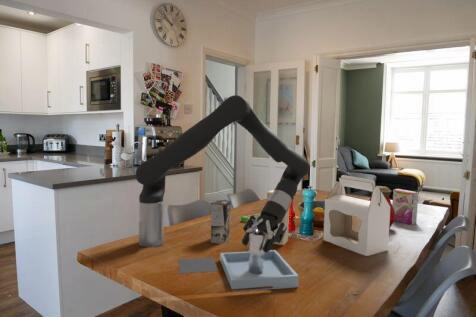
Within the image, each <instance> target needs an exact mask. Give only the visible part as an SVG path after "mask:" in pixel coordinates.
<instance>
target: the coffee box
mask: <svg viewBox="0 0 476 317" xmlns="http://www.w3.org/2000/svg"><path fill="white" fill-rule="evenodd" d="M231 203H232V202H231V200H218V199H217V200H215V201H214V202H213V203H211V209H210V211H211V212H210V244H220V245H221V244H224V245H225V244H227V243H228V241H229V239H230V238H231V207H232V206H231V205H232V204H231Z"/></svg>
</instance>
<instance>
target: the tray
mask: <svg viewBox="0 0 476 317" xmlns="http://www.w3.org/2000/svg"><path fill="white" fill-rule="evenodd" d="M219 261H220V264H221V266H222V268H223V271H224V274H225V276H226V278H227V281H228V284H229V285H230V288H231V293H243V291H244V292H253V291H254V290H257V291H268V289H269V290H277V289H278V290H280V289H292V288H299V277H300V276H299V275H298V273H297V272H296V271H295V270H294V269H293V268H292V267H291V265H290V264H289V263H288V262H287V261H286V260H285V259H284V258H283V257H282V256H281V254H280V253H279V252H278V251H277V249H270V250H269V251H268V252H267V253H265V256H264V272H263V273H261V274H253V273H250V272H249V271H248V267H249V250H248V251H233V252H220V253H219ZM254 288H255V289H254ZM241 289H242V290H241ZM254 292H255V291H254Z"/></svg>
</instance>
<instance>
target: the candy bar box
mask: <svg viewBox="0 0 476 317" xmlns="http://www.w3.org/2000/svg"><path fill="white" fill-rule="evenodd" d="M418 203H419V192H418V191H412V190H407V189H401V188H395V189H393V190H392V201H391V204H392V206H393V209H394V211H395V214H396V217H397V218H396V220H395V221H394V222H399V223H403V224H407V225H410V226H414V225H417V219H418V205H419V204H418Z"/></svg>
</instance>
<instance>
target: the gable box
mask: <svg viewBox="0 0 476 317" xmlns="http://www.w3.org/2000/svg"><path fill="white" fill-rule="evenodd" d="M338 180H339V181H335V185H334V186H333V188H332V189H331V191H330V192H329V193H328V195H327V197H326V198H325V199H324V217H323V219H324V220H323V241H325V242H327V243H331V244H332V245H336V246H339V248H340V247H341V248H343V249H346V250H349V251H352V252H354V253H356V254H359V255H362V256H365V257H368V256H372V255H376V254H380V253H383V252H388V250H389V236H390V229H389V223H390V206H389V204H388V202H387V200H386V199H385V197H384V195H383V194H382V192H381V189H379V188H377V187H376V186H377V184H376V180H375V179H372V178H367V177H359V176H353V175H346V174H342V175H341V176H340V177H338ZM345 187H347V188H353V189H358V190H361V191H362V190H363V191H368V192H370V191H372V196H371V195H370V197H371V201H369V200H368V199H363V198H360V197H354V196H350V195H346V190H345ZM352 216H354V217H357V218H359V219H360V220H361V225H360V228H359V230H358V231H355V230H353V227H352V226H353V217H352Z"/></svg>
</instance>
